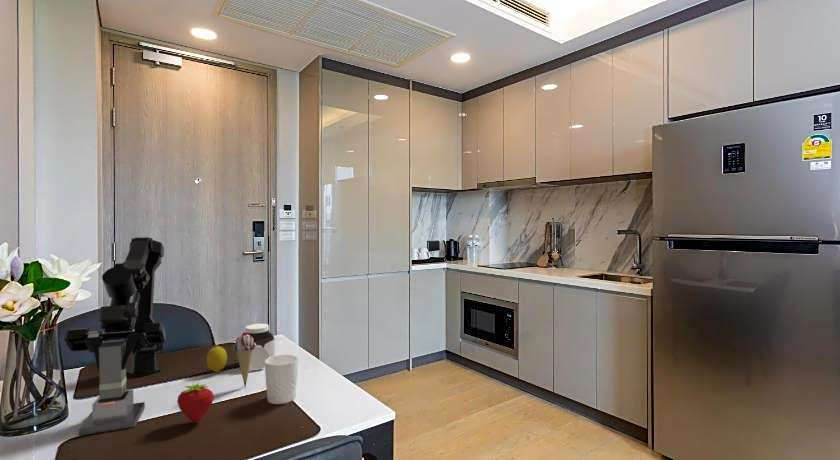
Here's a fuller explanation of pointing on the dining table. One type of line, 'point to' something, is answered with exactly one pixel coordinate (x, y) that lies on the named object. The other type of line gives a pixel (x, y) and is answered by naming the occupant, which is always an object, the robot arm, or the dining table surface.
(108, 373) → the jack column
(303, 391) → the dining table surface
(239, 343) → the ice cream cone
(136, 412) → the jack stand base
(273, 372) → the white cup
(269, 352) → the spread jar
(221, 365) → the lemon
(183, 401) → the strawberry
